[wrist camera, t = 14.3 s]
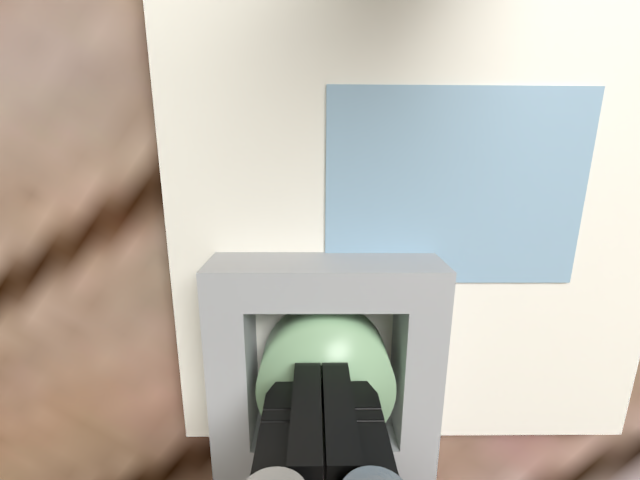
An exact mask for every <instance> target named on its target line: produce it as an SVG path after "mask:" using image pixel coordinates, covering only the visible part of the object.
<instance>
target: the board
mask: <svg viewBox="0 0 640 480" xmlns="http://www.w3.org/2000/svg"><path fill="white" fill-rule="evenodd" d="M143 6H144V16H145V26H146V36H147V46H148V56H149V67H150V77H151V87H152V97H153V107H154V117H155V127H156V137H157V147H158V157H159V167H160V177H161V187H162V197H163V207H164V217H165V227H166V237H167V247H168V258H169V268H170V278H171V288H172V298H173V308H174V318H175V328H176V338H177V348H178V358H179V368H180V378H181V388H182V398H183V408H184V418H185V428H186V437H209V438H210V451H211V463H212V475H213V480H246V479H247V478H248V477H249V476H250V473H251V468H252V463H253V457H254V452H255V447H256V442H257V437H258V431H259V426H260V423H261V414H260V412H259V409H258V406H257V402H256V394H255V393H256V382H257V377H258V373H259V368H260V364H261V360H262V356H263V352H264V348H265V344H266V341H267V339H268V336H269V334H270V332H271V331H272V329H273V328H274V326H275V325H276V324H277V323H278V322H279V321H280V319H282V318H283V317H284V316H285V315H286V314H364V315H365V316H366V317H367V318H368V319H369V320H370V321H371V322H372V323H373V324H374V325H375V327H376V328H377V330H378V331H379V333H380V335H381V337H382V340H383V343H384V346H385V349H386V352H387V355H388V358H389V360H390V363H391V366H392V369H393V372H394V375H395V380H396V400H395V404H394V408H393V410H392V412H391V415H390V417H389V418H388V420H387V421H386V427H387V431H388V435H389V439H390V443H391V446H392V450H393V454H394V458H395V462H396V466H397V470H398V473H399V476H400V477H401V478H402V479H403V480H436V476H437V466H438V456H439V446H440V436H441V435H617V434H622V430H623V425H624V421H625V417H626V413H627V409H628V405H629V400H630V396H631V392H632V388H633V384H634V380H635V375H636V371H637V367H638V363H639V359H640V0H143Z"/></svg>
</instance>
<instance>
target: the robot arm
mask: <svg viewBox="0 0 640 480" xmlns="http://www.w3.org/2000/svg"><path fill="white" fill-rule="evenodd" d="M246 480H403V479H402V478H401V477H400V476H399V473H398V470H397V466H396V462H395V458H394V454H393V450H392V446H391V443H390V439H389V435H388V431H387V427H386V423H385V419H384V415H383V411H382V409H381V404H380V400H379V396H378V393H377V392H376V390H375V389H374V388H373V387H372V386H371V385H370V384H369V382H368V381H351V379H350V373H349V367H348V363H347V362H338V363H322V405H321V371H320V363H295V367H294V379H293V381H291V382H275V383H274V384H273V385H272V387H271V388H270V389H269V390H268V392H267V393H266V395H265V400H264V405H263V411H262V416H261V423H260V426H259V431H258V437H257V442H256V447H255V452H254V457H253V463H252V468H251V473H250V476H249V477H248V478H247V479H246Z"/></svg>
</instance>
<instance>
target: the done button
mask: <svg viewBox="0 0 640 480" xmlns="http://www.w3.org/2000/svg"><path fill="white" fill-rule="evenodd" d="M338 362H347V363H348V367H349V373H350V379H351V381H368V382H369V384H370V385H371V386H372V387H373V388H374V389H375V390H376V392H377V393H378V396H379V400H380V404H381V409H382V411H383V415H384V419H385V423H386V421H387V420H388V418H389V417H390V415H391V412H392V410H393V408H394V404H395V400H396V380H395V375H394V372H393V369H392V366H391V363H390V360H389V358H388V355H387V352H386V349H385V346H384V343H383V340H382V337H381V335H380V333H379V331H378V330H377V328H376V327H375V325H374V324H373V323H372V322H371V321H370V320H369V319H368V318H367V317H366V316H365V315H364V314H286V315H285V316H284V317H283V318H282V319H280V321H279V322H278V323H277V324H276V325H275V326H274V328H273V329H272V331H271V332H270V334H269V336H268V339H267V341H266V344H265V348H264V352H263V356H262V360H261V364H260V368H259V373H258V377H257V382H256V393H255V394H256V402H257V406H258V409H259V412H260V414H261V416H262V411H263V405H264V400H265V395H266V393H267V392H268V390H269V389H270V388H271V387H272V385H273V384H274V383H275V382H291V381H293V379H294V367H295V363H320V371H321V405H322V363H338Z"/></svg>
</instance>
